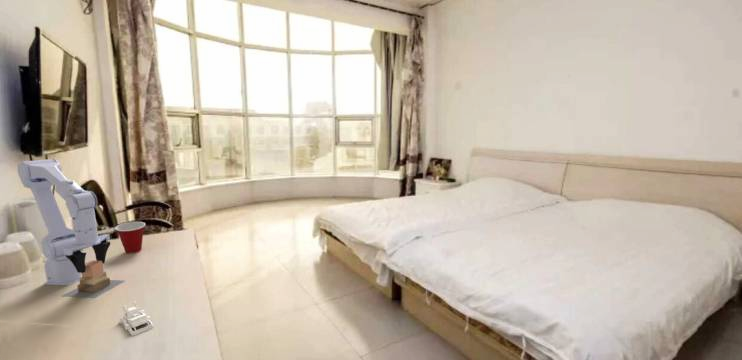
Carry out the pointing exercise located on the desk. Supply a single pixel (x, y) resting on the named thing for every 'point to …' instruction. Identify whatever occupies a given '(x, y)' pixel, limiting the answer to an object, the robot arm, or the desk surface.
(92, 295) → the mat
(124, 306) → the toy car
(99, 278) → the tower middle
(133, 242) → the plastic cup
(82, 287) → the tower base
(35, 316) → the desk surface
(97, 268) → the cube
